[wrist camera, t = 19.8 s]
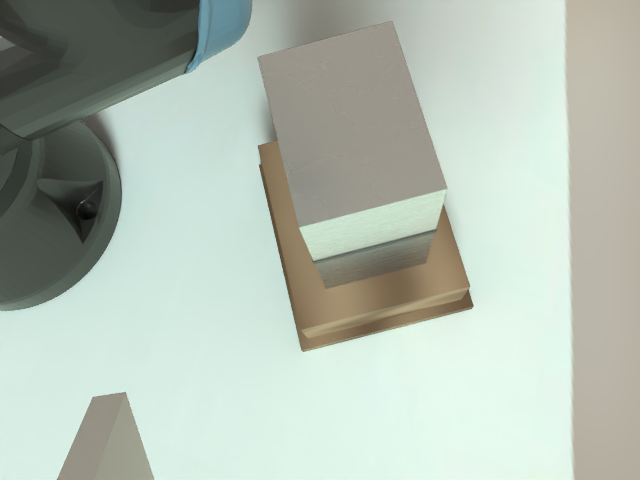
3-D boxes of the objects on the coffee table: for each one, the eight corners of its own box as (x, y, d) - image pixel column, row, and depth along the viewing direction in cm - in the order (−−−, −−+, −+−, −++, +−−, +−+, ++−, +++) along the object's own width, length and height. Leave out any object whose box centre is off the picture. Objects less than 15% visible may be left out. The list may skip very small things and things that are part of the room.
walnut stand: (303, 351, 39) (292, 342, 35) (261, 170, 43) (246, 139, 39) (471, 308, 39) (483, 293, 34) (414, 130, 43) (418, 94, 38)
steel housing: (325, 290, 35) (297, 229, 24) (294, 166, 38) (256, 56, 26) (427, 263, 35) (448, 189, 24) (389, 140, 38) (393, 19, 26)
